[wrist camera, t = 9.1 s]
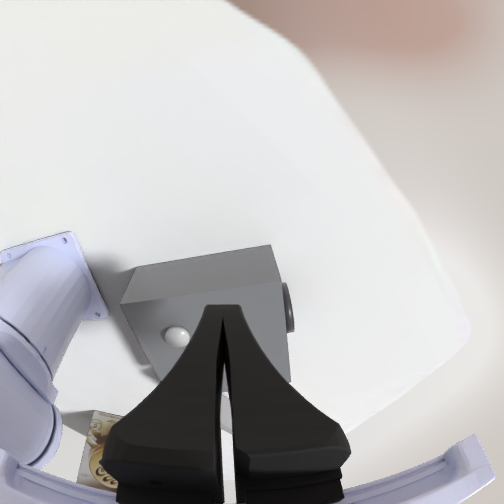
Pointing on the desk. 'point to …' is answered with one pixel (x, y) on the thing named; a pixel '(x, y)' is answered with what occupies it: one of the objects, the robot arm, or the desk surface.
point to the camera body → (208, 293)
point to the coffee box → (97, 454)
